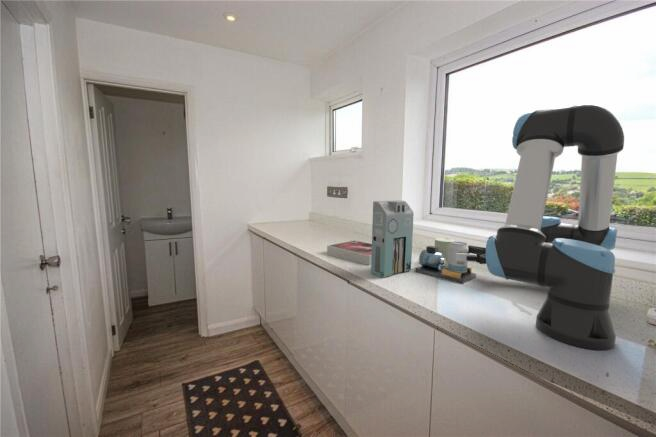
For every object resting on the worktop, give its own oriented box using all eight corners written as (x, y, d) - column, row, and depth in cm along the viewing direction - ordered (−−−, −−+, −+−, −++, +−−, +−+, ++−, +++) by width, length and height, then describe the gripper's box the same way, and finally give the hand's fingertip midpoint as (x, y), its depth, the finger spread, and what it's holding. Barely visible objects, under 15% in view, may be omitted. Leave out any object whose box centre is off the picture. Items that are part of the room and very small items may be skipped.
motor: (462, 283, 108) (464, 256, 106) (415, 271, 122) (416, 247, 121) (475, 277, 115) (477, 251, 114) (429, 266, 130) (431, 243, 129)
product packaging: (354, 248, 166) (354, 240, 165) (395, 258, 146) (396, 248, 145) (327, 254, 151) (327, 245, 150) (369, 266, 131) (369, 255, 130)
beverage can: (457, 269, 119) (459, 240, 118) (470, 274, 113) (473, 244, 111) (444, 270, 117) (446, 241, 116) (456, 275, 111) (458, 245, 109)
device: (384, 278, 113) (387, 202, 109) (370, 273, 119) (372, 201, 116) (411, 271, 123) (414, 201, 119) (397, 266, 129) (399, 200, 125)
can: (457, 263, 135) (458, 238, 134) (449, 267, 128) (451, 241, 127) (437, 260, 141) (439, 236, 140) (429, 263, 135) (431, 238, 133)
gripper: (525, 276, 98) (458, 270, 103) (502, 258, 121) (448, 254, 127) (528, 254, 97) (459, 250, 102) (503, 240, 121) (449, 237, 126)
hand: (453, 252), depth 114 cm, fingers open, 13 cm apart
